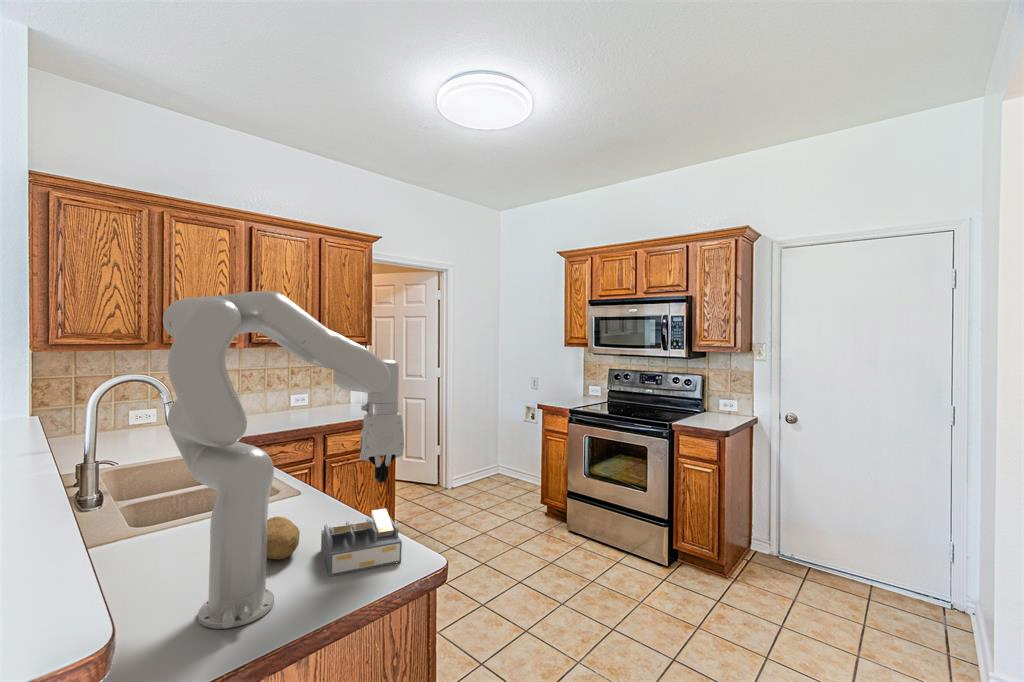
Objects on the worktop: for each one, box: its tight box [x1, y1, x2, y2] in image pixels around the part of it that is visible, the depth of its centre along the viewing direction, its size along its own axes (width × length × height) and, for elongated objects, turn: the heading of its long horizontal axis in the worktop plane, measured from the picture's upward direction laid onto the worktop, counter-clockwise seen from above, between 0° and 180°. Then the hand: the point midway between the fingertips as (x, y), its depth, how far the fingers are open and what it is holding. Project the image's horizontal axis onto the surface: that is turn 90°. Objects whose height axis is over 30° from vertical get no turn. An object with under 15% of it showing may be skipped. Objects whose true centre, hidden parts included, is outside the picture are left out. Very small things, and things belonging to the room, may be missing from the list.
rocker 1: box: [328, 524, 351, 534], centre depth 113 cm, size 8×4×1 cm, turn 29°
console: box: [320, 515, 403, 577], centre depth 115 cm, size 14×16×7 cm
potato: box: [266, 516, 301, 561], centre depth 114 cm, size 10×14×8 cm
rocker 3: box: [370, 508, 394, 537], centre depth 118 cm, size 8×4×1 cm, turn 28°
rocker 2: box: [349, 520, 373, 530], centre depth 115 cm, size 8×4×1 cm, turn 29°
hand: (381, 480), depth 121 cm, fingers closed
